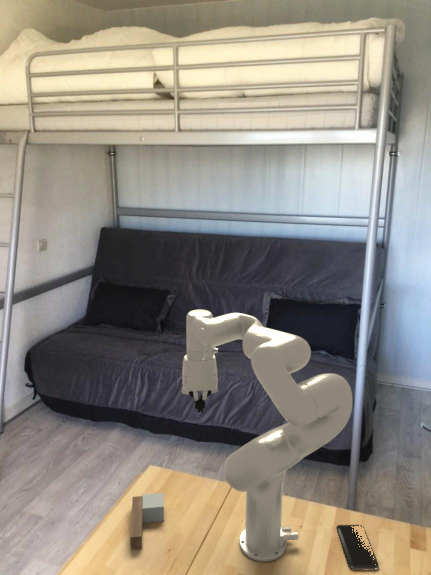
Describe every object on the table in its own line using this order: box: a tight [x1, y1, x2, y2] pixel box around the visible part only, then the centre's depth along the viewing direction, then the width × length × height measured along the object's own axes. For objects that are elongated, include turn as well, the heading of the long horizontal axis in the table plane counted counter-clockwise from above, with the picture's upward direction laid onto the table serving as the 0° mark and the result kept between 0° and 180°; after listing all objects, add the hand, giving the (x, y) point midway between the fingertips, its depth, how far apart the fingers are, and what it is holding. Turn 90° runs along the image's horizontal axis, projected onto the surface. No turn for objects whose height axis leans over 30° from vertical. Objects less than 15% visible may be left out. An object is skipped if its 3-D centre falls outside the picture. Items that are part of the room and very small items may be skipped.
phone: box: [335, 524, 379, 571], centre depth 134 cm, size 8×1×15 cm
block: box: [142, 492, 165, 524], centre depth 145 cm, size 6×6×5 cm
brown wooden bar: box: [129, 495, 144, 550], centre depth 140 cm, size 3×16×4 cm, turn 7°
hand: (200, 410), depth 147 cm, fingers closed
